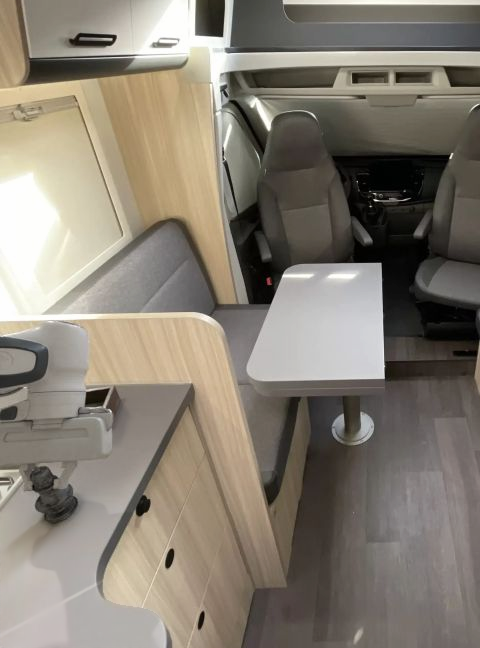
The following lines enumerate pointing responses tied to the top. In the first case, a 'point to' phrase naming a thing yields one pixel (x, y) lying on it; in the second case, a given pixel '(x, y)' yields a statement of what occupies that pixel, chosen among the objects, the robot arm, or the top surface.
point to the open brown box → (103, 398)
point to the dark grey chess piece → (52, 496)
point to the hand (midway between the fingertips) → (45, 489)
